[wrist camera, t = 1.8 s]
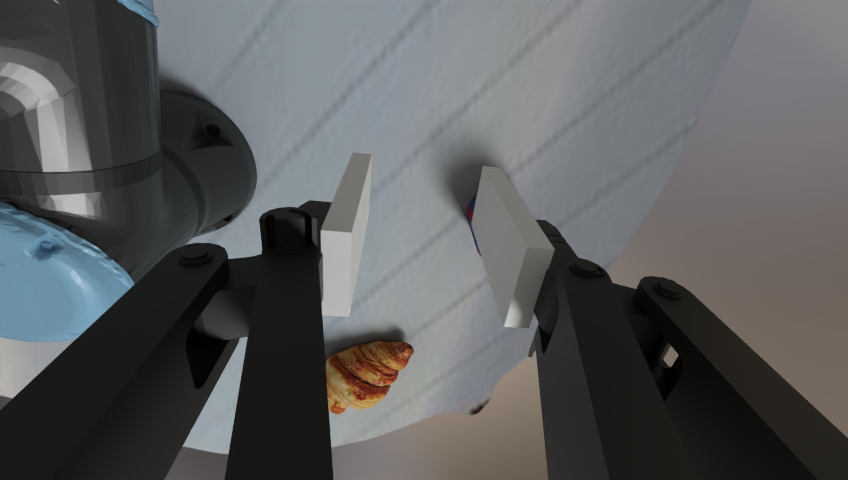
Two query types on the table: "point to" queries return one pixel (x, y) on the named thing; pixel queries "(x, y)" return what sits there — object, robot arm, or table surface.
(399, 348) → the croissant
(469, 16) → the table surface
